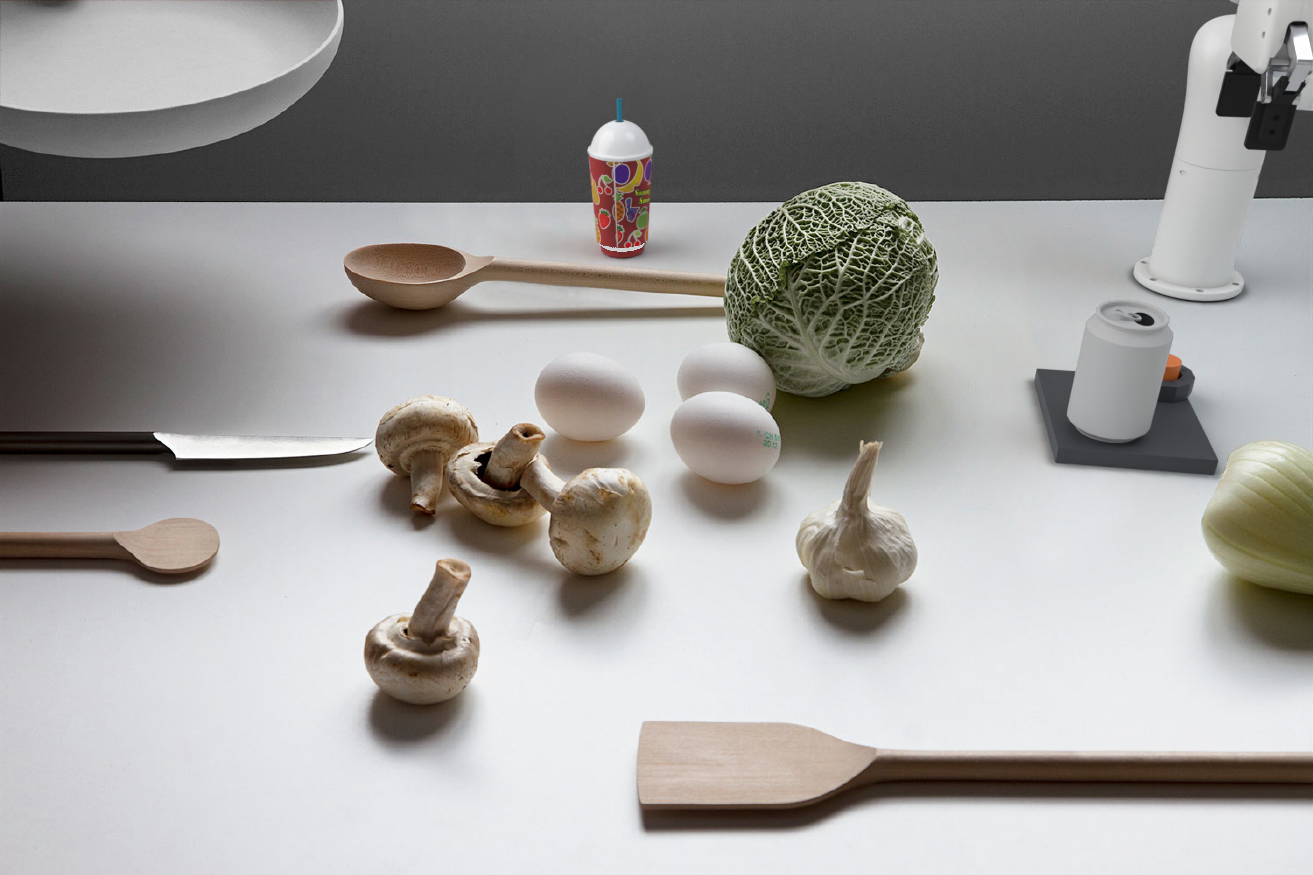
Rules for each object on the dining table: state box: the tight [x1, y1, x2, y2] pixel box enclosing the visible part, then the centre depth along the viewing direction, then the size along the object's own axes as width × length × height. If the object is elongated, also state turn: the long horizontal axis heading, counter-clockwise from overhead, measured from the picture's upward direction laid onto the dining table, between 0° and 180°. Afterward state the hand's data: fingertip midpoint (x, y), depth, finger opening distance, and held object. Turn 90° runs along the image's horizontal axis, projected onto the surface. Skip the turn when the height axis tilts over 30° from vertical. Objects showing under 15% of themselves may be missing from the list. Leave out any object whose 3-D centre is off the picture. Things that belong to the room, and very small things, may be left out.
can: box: [1067, 299, 1174, 443], centre depth 104 cm, size 8×8×12 cm
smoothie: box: [586, 97, 654, 259], centre depth 146 cm, size 8×8×20 cm
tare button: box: [1163, 353, 1183, 381], centre depth 113 cm, size 3×3×2 cm
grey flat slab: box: [1033, 364, 1219, 476], centre depth 110 cm, size 17×14×4 cm
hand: (1247, 132), depth 101 cm, fingers open, 9 cm apart
